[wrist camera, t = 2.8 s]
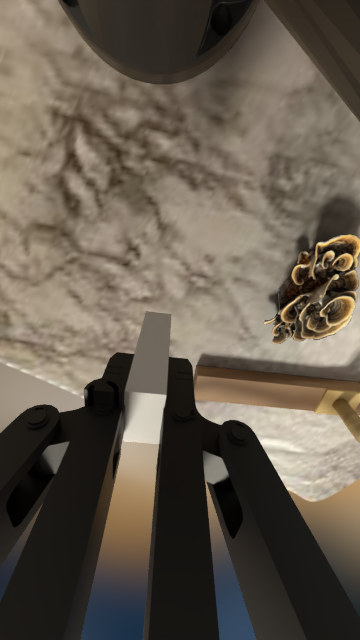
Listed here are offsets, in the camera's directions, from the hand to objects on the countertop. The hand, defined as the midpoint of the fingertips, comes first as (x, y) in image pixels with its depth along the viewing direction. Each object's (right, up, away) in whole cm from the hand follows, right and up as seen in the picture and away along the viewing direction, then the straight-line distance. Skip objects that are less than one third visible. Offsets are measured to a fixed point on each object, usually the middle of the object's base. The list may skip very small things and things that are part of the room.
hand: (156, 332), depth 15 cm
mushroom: (+15, +5, +12) cm, 20 cm away
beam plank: (+18, -9, +19) cm, 27 cm away
